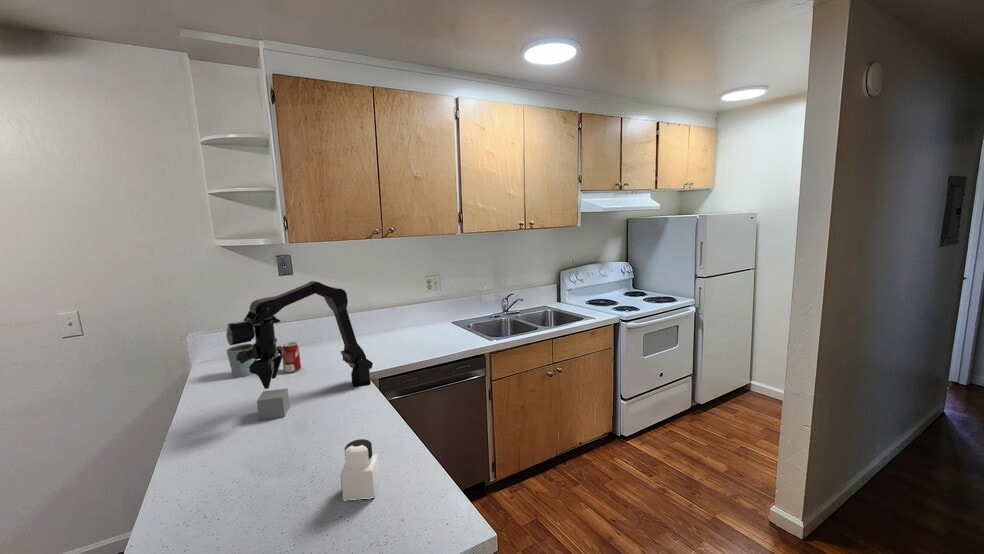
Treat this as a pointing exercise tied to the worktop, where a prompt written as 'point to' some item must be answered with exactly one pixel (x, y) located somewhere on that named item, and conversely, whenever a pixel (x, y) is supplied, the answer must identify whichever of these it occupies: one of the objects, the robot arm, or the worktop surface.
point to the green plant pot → (236, 366)
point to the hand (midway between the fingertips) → (270, 383)
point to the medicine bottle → (359, 471)
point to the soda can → (291, 357)
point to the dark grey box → (273, 404)
